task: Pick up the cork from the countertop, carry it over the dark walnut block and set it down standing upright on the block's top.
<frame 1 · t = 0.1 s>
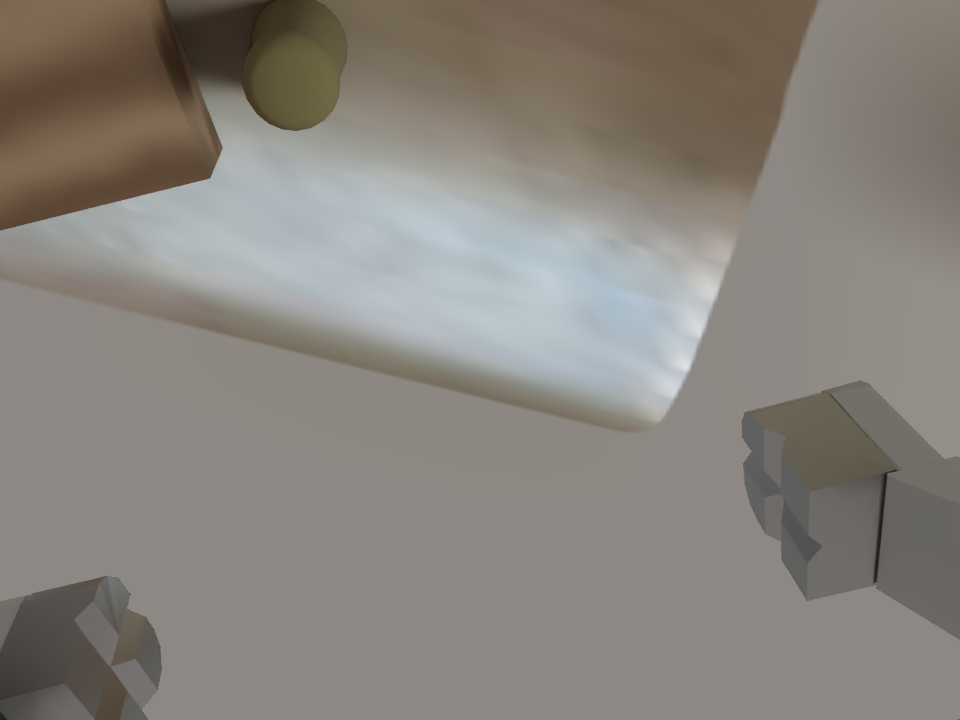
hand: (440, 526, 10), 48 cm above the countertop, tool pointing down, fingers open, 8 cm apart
cork: (299, 46, 52), on the countertop
walnut block: (71, 67, 50), on the countertop
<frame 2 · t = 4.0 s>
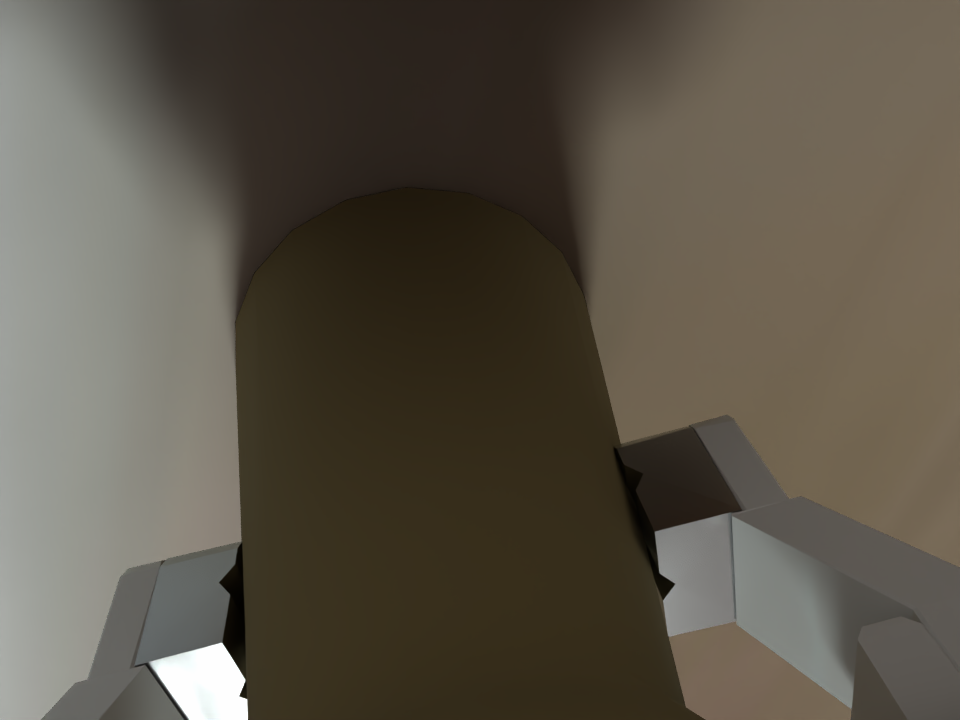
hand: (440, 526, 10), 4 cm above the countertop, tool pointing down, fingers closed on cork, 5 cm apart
cork: (416, 350, 14), on the countertop, touching gripper
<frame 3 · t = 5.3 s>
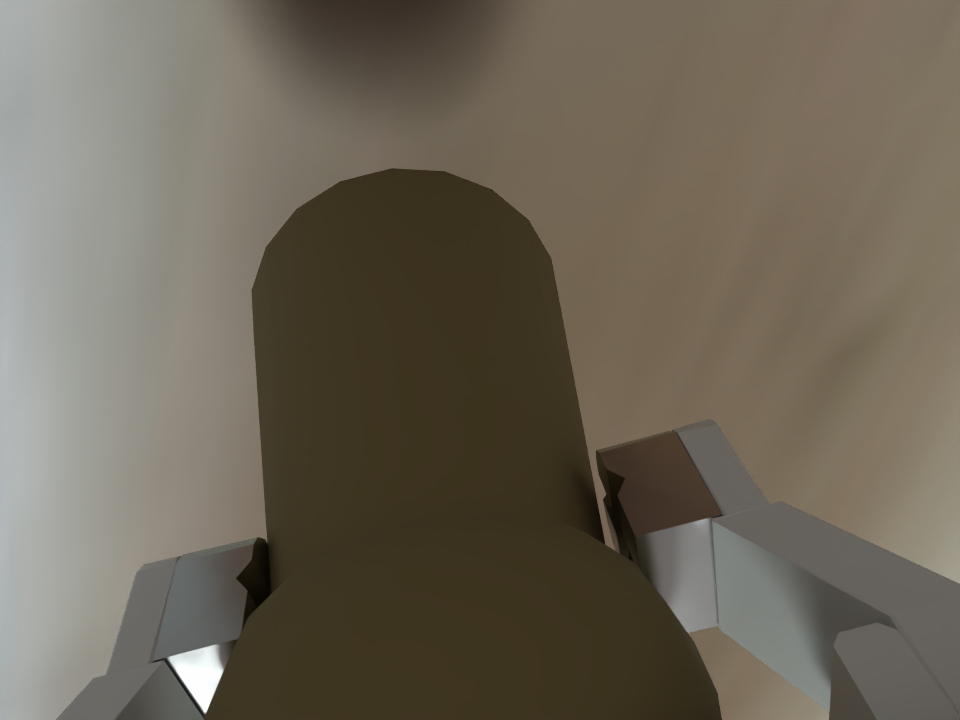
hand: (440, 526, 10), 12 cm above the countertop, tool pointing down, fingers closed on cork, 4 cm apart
cork: (408, 311, 16), point 5 cm above the countertop, touching gripper
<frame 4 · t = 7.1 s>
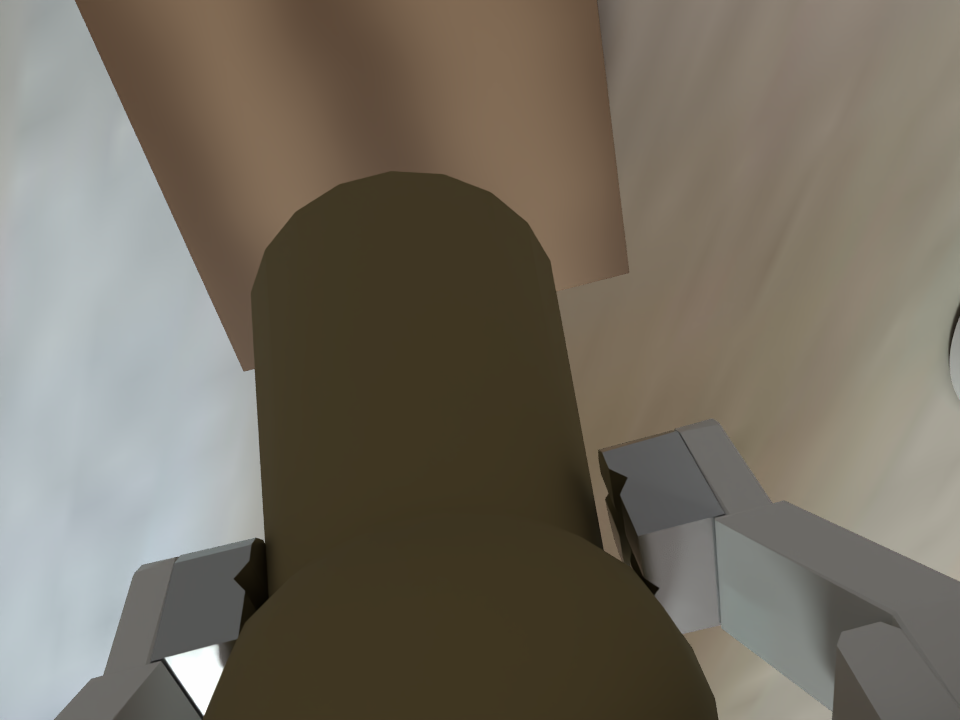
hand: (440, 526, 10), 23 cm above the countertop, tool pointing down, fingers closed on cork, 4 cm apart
cork: (407, 314, 16), point 17 cm above the countertop, touching gripper
walnut block: (376, 82, 30), on the countertop
when the fingers open (12 cm above the countertop, at t = 9.1 s): cork stays where it is, resting on walnut block.
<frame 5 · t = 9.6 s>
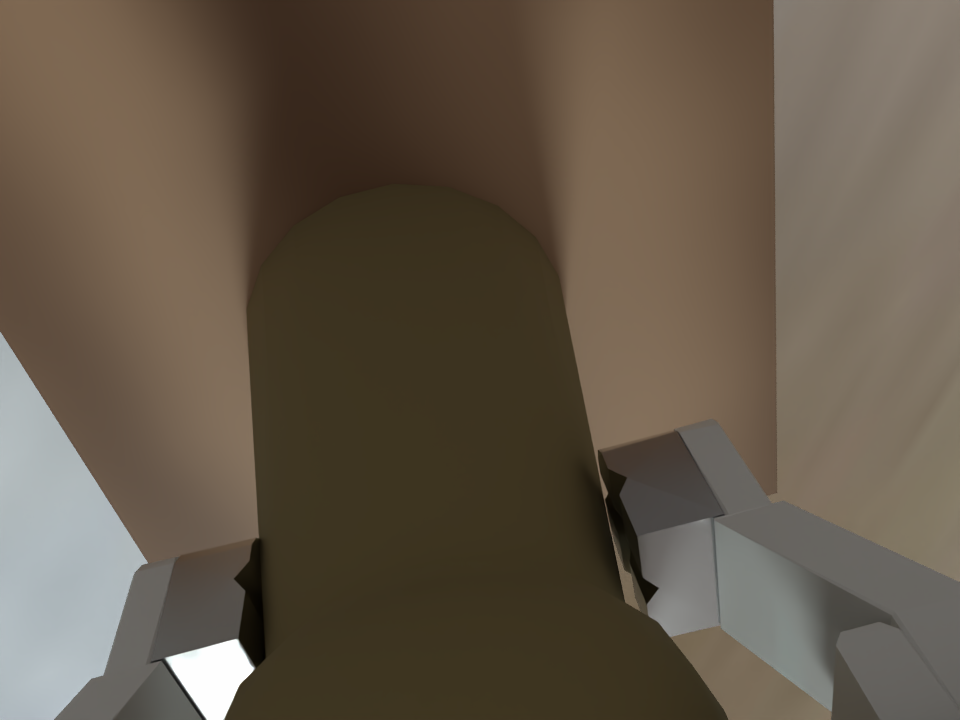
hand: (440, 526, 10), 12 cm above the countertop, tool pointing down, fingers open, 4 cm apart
cork: (409, 331, 15), point 6 cm above the countertop, touching gripper, walnut block
walnut block: (396, 199, 20), on the countertop
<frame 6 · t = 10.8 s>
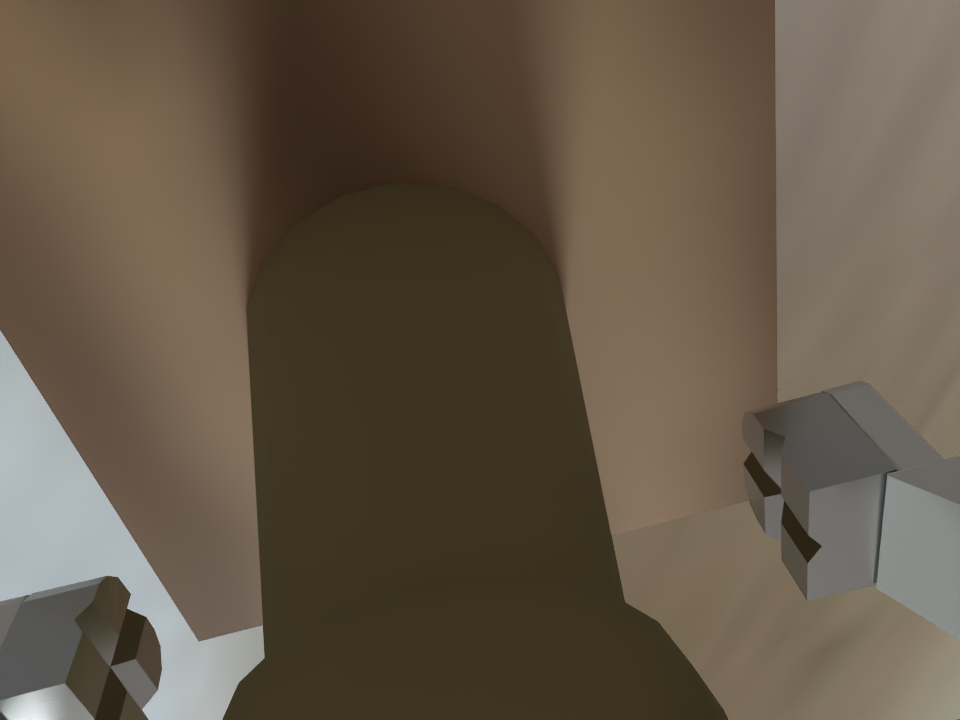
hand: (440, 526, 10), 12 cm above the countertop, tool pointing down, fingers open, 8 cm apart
cork: (409, 330, 15), point 6 cm above the countertop, touching walnut block
walnut block: (397, 199, 20), on the countertop
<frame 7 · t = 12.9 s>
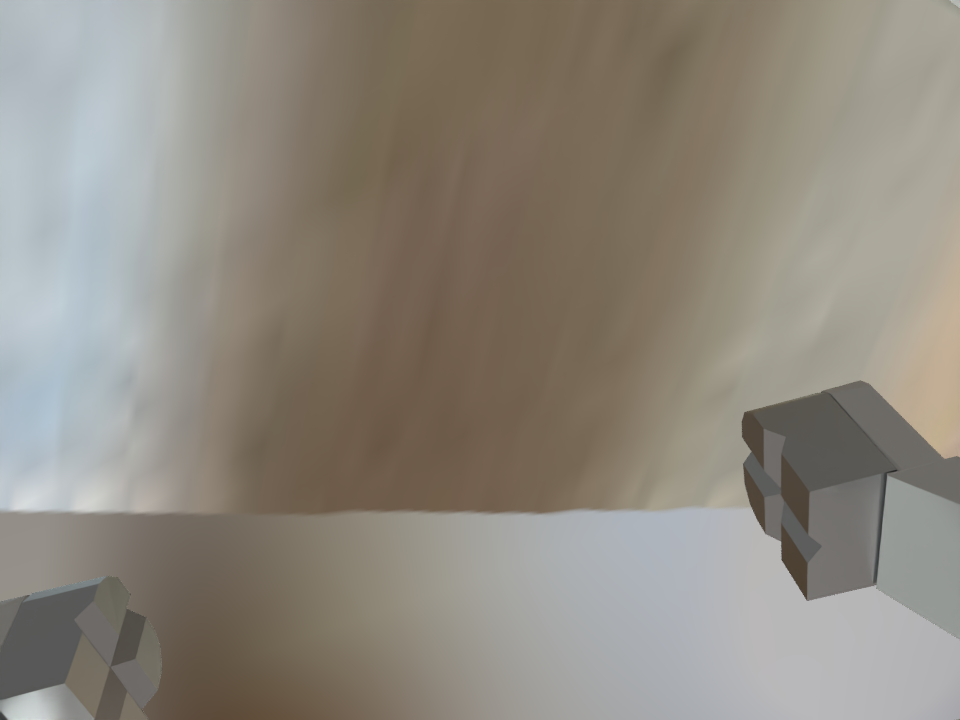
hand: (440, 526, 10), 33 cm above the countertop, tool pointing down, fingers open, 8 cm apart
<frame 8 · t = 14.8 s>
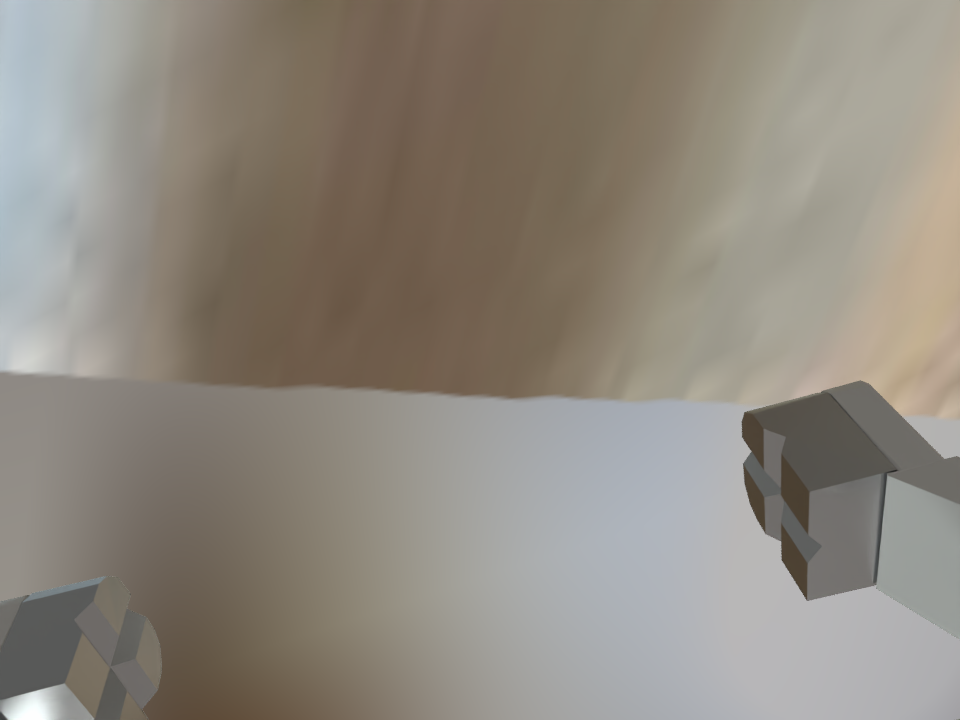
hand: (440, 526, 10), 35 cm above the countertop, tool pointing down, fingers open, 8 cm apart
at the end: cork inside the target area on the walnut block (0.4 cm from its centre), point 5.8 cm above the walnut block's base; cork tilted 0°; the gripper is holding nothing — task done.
